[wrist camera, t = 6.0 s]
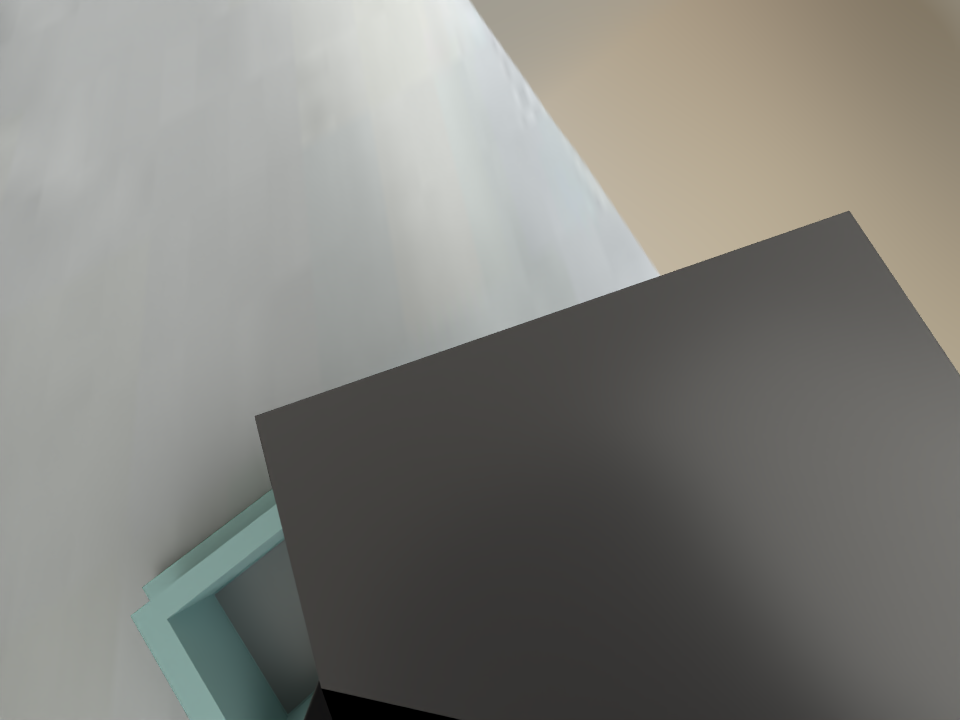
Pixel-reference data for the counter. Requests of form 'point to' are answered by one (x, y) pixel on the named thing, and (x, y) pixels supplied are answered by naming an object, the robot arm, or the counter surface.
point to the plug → (644, 506)
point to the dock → (233, 624)
